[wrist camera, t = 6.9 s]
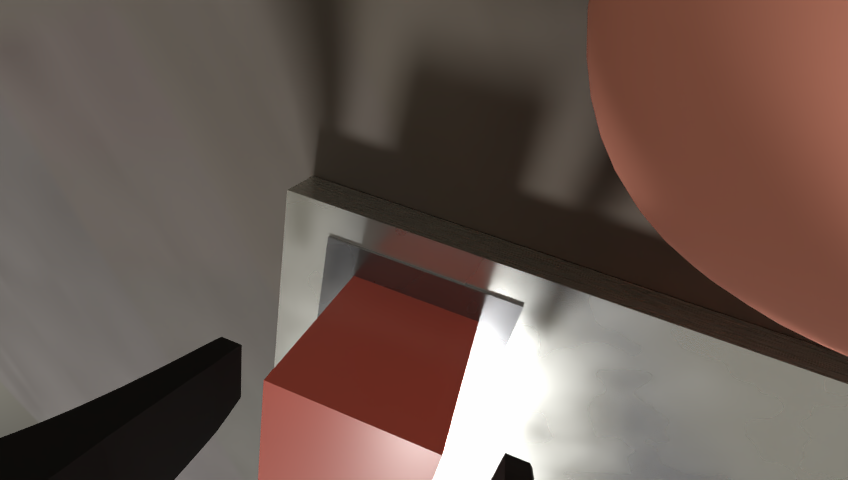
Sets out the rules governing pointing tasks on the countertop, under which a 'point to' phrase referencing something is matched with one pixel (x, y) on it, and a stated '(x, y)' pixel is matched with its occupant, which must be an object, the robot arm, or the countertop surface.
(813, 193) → the sugar bowl
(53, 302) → the countertop surface
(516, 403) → the breaker panel
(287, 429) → the red cube
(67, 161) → the countertop surface
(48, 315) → the countertop surface
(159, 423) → the robot arm
